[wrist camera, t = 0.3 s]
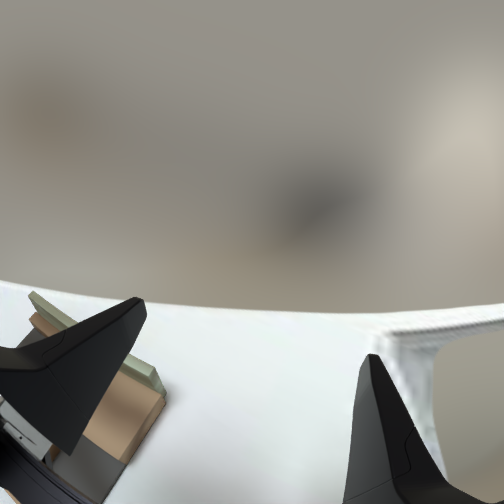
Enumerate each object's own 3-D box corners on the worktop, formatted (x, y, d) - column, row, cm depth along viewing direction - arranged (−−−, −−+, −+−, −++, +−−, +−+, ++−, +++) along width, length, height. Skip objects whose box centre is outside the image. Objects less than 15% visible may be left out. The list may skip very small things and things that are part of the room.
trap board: (73, 547, 8) (41, 546, 5) (-37, 418, 14) (-63, 397, 11) (171, 395, 23) (159, 369, 20) (47, 317, 29) (31, 289, 26)
